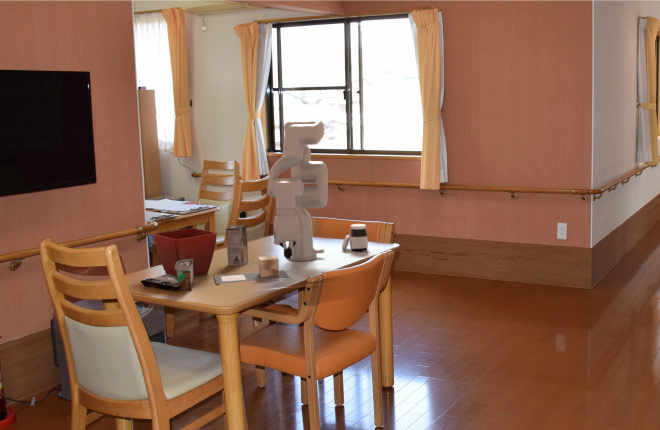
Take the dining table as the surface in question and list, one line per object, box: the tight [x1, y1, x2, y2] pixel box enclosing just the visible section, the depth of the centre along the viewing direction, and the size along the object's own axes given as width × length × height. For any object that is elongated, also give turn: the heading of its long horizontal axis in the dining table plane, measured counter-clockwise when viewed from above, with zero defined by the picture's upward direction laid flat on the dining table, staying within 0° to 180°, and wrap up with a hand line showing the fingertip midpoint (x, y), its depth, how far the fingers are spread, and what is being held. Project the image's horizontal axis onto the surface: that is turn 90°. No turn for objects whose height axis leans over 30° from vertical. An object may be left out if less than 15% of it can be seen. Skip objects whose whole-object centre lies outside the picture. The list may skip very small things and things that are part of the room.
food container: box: [175, 259, 195, 292], centre depth 275 cm, size 12×6×10 cm, turn 5°
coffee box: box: [225, 224, 249, 267], centre depth 314 cm, size 9×6×16 cm
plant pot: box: [152, 227, 217, 279], centre depth 298 cm, size 19×19×17 cm
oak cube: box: [257, 255, 280, 278], centre depth 289 cm, size 7×7×7 cm
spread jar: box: [341, 223, 369, 253], centre depth 335 cm, size 12×11×12 cm
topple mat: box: [213, 269, 290, 286], centre depth 288 cm, size 28×13×1 cm, turn 103°
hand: (288, 258), depth 291 cm, fingers closed
